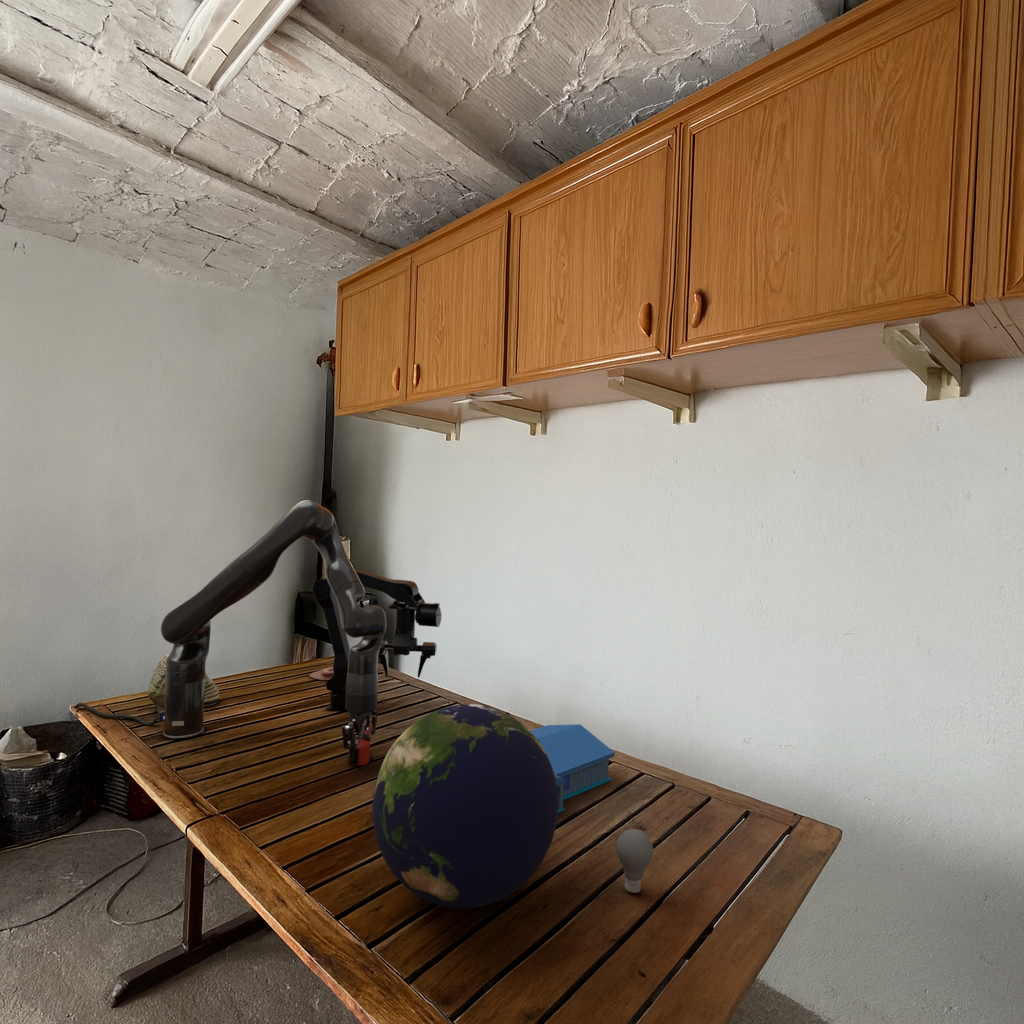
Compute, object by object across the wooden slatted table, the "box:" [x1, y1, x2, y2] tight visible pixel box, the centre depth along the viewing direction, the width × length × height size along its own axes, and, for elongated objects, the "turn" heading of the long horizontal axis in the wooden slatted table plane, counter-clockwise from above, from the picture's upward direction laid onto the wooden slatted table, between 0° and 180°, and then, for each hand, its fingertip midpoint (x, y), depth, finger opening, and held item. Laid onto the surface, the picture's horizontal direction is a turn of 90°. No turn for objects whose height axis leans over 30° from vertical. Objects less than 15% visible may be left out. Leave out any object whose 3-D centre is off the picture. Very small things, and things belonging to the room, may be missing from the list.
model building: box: [529, 723, 615, 814], centre depth 141 cm, size 39×24×10 cm, turn 132°
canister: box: [350, 739, 371, 767], centre depth 152 cm, size 5×5×4 cm
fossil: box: [147, 654, 221, 711], centre depth 185 cm, size 9×18×15 cm, turn 132°
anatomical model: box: [308, 666, 334, 681], centre depth 222 cm, size 13×4×12 cm
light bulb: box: [615, 828, 654, 894], centre depth 106 cm, size 6×6×10 cm
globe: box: [371, 703, 559, 910], centre depth 103 cm, size 30×30×30 cm
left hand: (359, 759), depth 152 cm, fingers closed on canister, 5 cm apart
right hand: (402, 677), depth 187 cm, fingers open, 9 cm apart
